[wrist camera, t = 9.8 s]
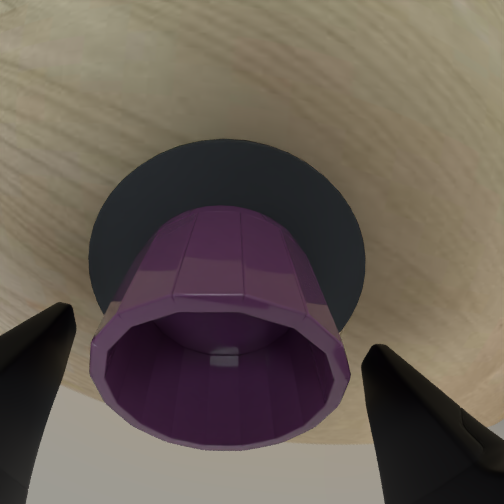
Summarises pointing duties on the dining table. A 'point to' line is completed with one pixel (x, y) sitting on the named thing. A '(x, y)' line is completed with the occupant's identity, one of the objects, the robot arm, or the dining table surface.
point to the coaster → (232, 194)
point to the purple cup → (220, 336)
